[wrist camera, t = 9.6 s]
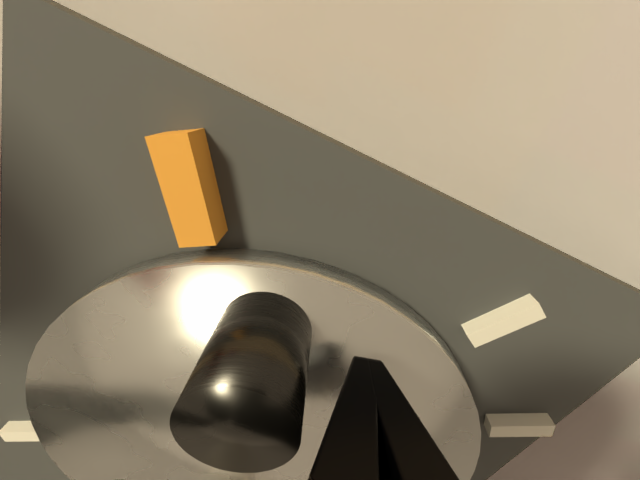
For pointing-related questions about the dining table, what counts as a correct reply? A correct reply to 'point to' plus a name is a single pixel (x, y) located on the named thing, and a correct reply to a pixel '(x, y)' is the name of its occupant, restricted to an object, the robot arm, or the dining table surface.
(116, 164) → the grey dial base plate
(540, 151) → the dining table surface
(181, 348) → the dial
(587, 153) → the dining table surface
